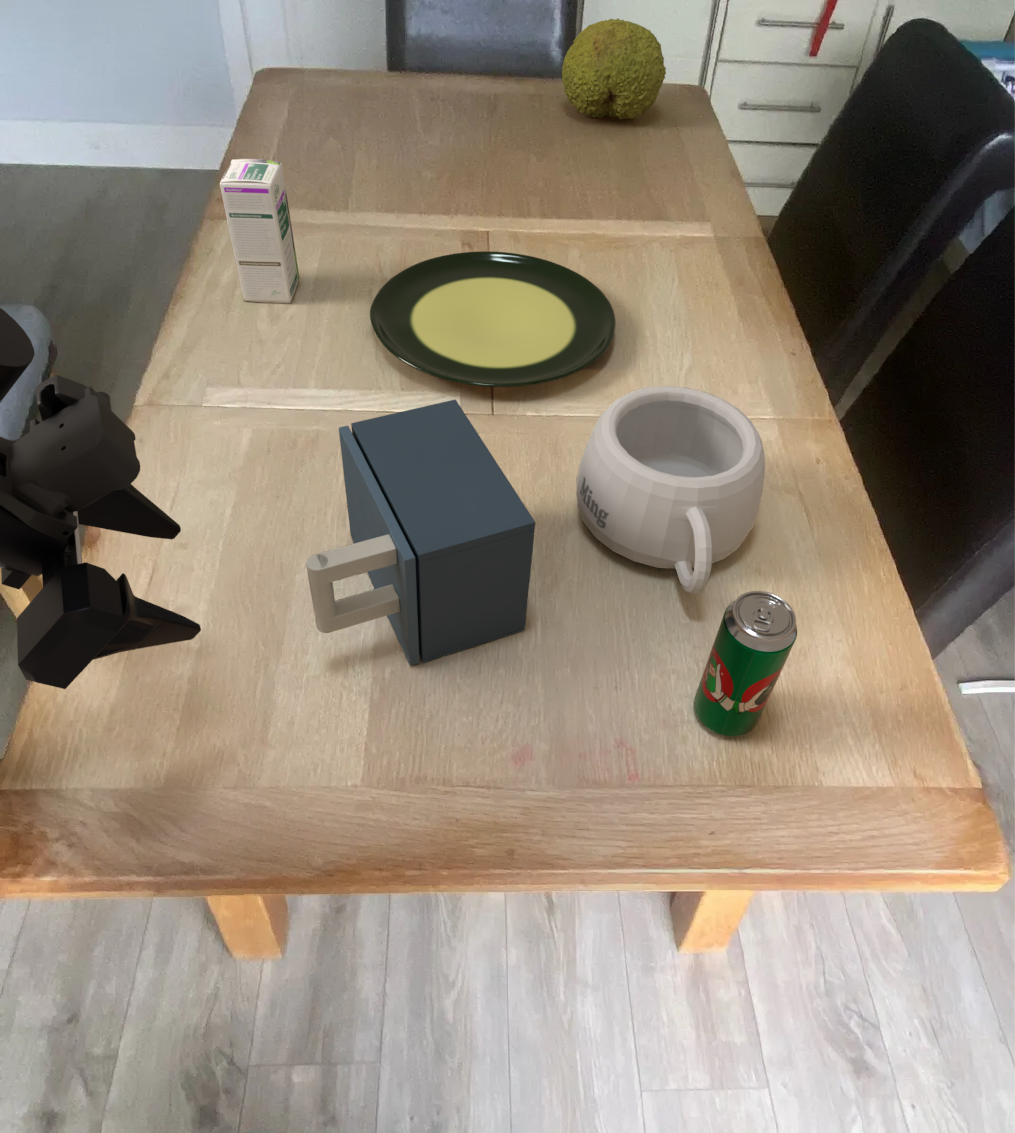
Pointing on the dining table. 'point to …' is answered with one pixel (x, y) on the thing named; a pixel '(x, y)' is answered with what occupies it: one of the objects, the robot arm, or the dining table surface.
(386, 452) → the cabinet
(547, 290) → the plate
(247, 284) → the syrup box
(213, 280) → the dining table surface
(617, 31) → the fruit
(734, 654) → the soda can
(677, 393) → the mug
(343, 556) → the cabinet door
